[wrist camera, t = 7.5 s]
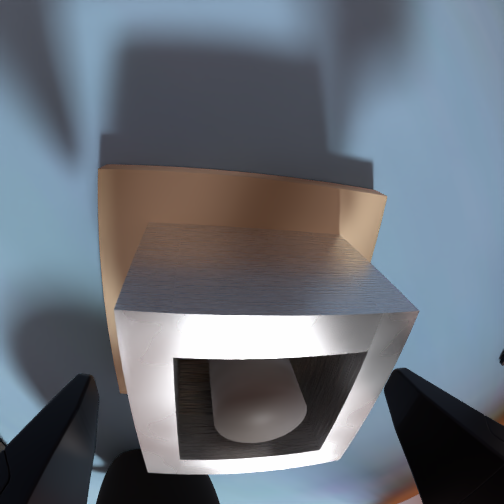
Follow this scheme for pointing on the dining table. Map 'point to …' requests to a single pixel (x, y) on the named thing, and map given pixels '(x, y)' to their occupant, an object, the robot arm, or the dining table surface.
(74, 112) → the dining table surface
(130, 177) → the shaft block
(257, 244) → the collar
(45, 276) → the dining table surface
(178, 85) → the dining table surface
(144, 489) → the mug
